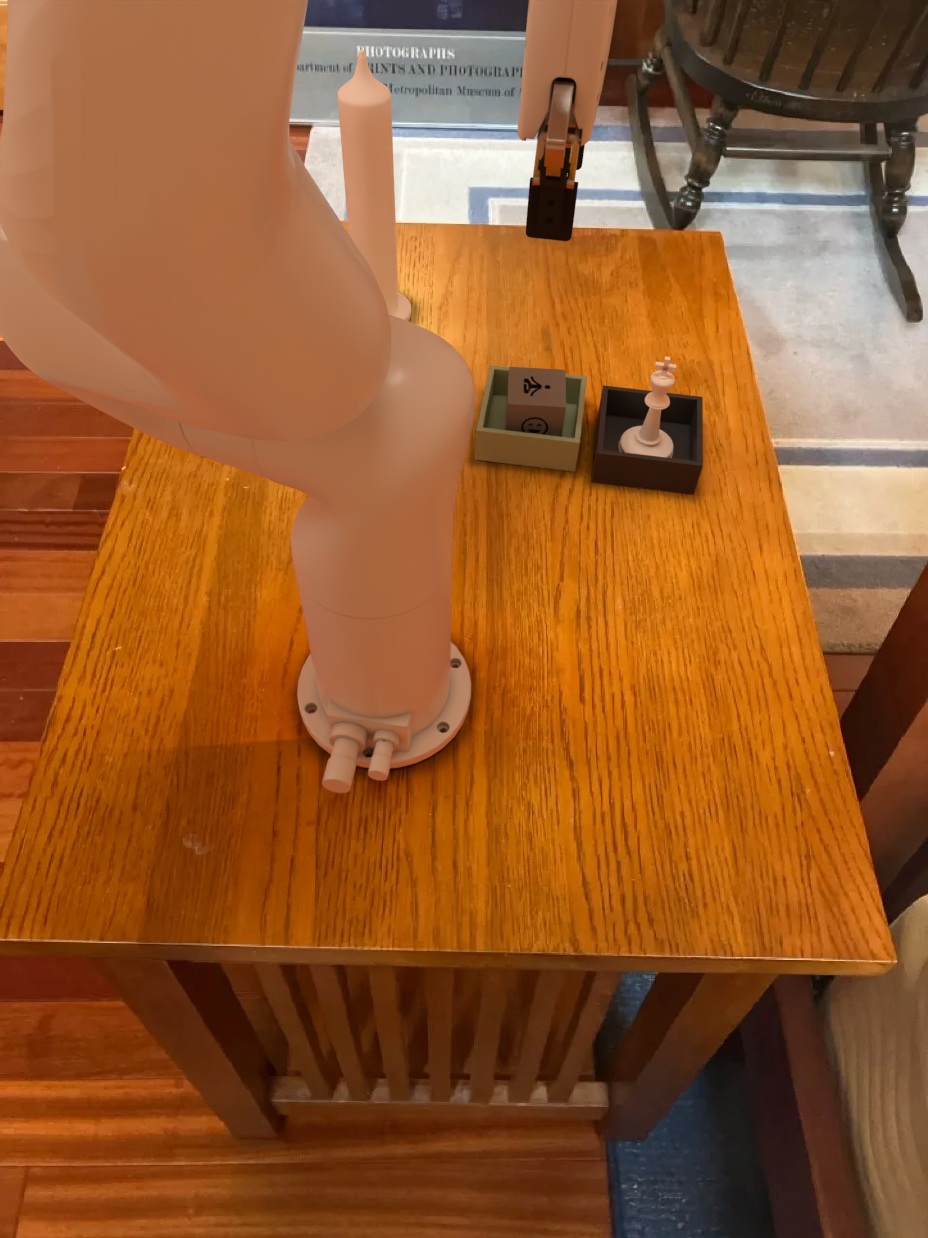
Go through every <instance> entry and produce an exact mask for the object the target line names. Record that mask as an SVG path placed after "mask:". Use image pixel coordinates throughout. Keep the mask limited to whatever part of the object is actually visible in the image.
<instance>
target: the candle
mask: <svg viewBox="0 0 928 1238" xmlns="http://www.w3.org/2000/svg"><path fill="white" fill-rule="evenodd" d="M355 65H356V66H355V70H354V74H353V76H352V77H351V79H349V80H347V82H346V83H344V84H343V85H342V86H341V87H339V89H338V91H337V94H336V95H337V106H338V109H337V110H338V121H339V134H340V145H341V157H342V169H343V181H344V193H345V207H346V216H347V217H346V218H347V228H348V230H347V232H348V234H349V235H350V237H351V238H352V240H353V241H354V243H355V245H356V246H357V248H358V249H359V251H360V252H361V254H362V255H363V257H364V259H365V260H366V262H367V263H368V265H369V267H370V268H371V270H372V272H373V274H374V276H375V278H376V281H377V283H378V285H379V288H380V290H381V293H382V295H383V297H384V300H385V303H386V307H387V311H388V315H392V316H395V317H397V318H400V319H403V320H406V321H409V322H410V319H411V317H412V305H411V302H410V301H409V299H408V298H407V297H406V296H405V295H404V294H402V293H401V292H399V277H398V276H399V275H398V252H397V251H398V248H397V247H398V246H397V223H396V219H397V218H396V197H395V196H396V195H395V169H394V168H395V167H394V166H395V165H394V142H393V139H394V138H393V115H392V94H391V91H390V88H389V87H388V86H387V85H385V84H384V83H382V82H381V81H379V80H378V79H377V78H375V77H374V75H373V73H372V72H371V70H370V66H369V62H368V59H367V55H366V51H365V50H364V49H359V50H358V53H357V60H356V64H355Z"/></svg>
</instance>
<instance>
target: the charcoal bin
mask: <svg viewBox="0 0 928 1238" xmlns="http://www.w3.org/2000/svg"><path fill="white" fill-rule="evenodd" d="M650 392H652V390H647V389H638V388H630V387H622V386H613V385H602V389H601V394H600V399H599V400H600V401H599V405H598V412H597V418H596V430H595V439H594V447H593V448H594V450H593V459H592V460H593V461H592V468H591V469H592V470H591V481H590V482H591V483H596V484H603V485H604V484H605V485H613V486H620V487H629V488H637V489H645V490H653V491H660V492H661V491H662V492H671V493H676V494H686V495H695V493H696V489H697V485H698V483H699V480H700V476H701V473H702V469H703V467H704V434H703V431H704V427H703V426H704V423H703V421H704V418H703V417H704V416H703V415H704V414H703V413H704V412H703V411H704V410H703V408H704V407H703V405H704V404H703V403H704V402H703V401H704V397H703V396H700V395H699V396H698V395H691V394H682V393H674V392H668V393H667V394H666V395H667V396H668V397H669V400H670V404H669V406H668V407H667V408H665V409H662V410H661V415H660V426H659V429H660V430H662V431H664V432H665V433H666V434H667V435H668V436H669V437H670V438H671V440H672V442H673V456H672V458H666V457H658V456H650V455H641V454H633V453H625V452H619V449H618V444H619V441H620V439H621V436H622V435H623V433H624V432H625V431H626V430H628V429H630V428H632V427H635V426H643V423H644V421H645V418H646V416H647V413H648V411H649V408H650V407H649V406H647V405H646V403H645V397H646V396H647V394H648V393H650Z"/></svg>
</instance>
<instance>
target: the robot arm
mask: <svg viewBox="0 0 928 1238" xmlns="http://www.w3.org/2000/svg"><path fill="white" fill-rule="evenodd" d="M6 1H7V3H6V4H7V6H6V8H7V15H6V17H7V18H6V22H7V23H6V53H5V71H4V72H5V73H4V90H3V92H4V93H3V110H2V111H3V112H2V126H1V131H0V132H1V133H0V336H1V338H2V340H3V341H4V342H5V344H6V346H7V347H8V349H10V351H11V352H12V353H13V355H15V357H16V358H17V359H18V361H19V362H21V363H22V365H24V367H26V368H27V369H29V370H30V371H31V372H32V373H33V374H35V375H36V376H38V378H40V379H42V380H43V381H45V382H47V383H48V384H50V385H52V386H53V387H55V388H56V389H59V390H60V391H62V392H64V393H66V394H67V395H70V396H72V397H73V398H75V399H78V400H79V401H81V402H83V403H85V404H86V405H89V406H90V407H92V408H94V409H96V410H98V411H100V412H102V413H104V414H105V415H107V416H109V417H111V418H113V419H115V420H117V421H119V422H121V423H123V424H124V425H127V426H129V427H131V428H133V429H134V430H136V431H139V432H141V433H142V434H145V435H147V436H148V437H151V438H153V439H155V440H156V441H159V442H161V443H164V444H166V445H168V446H171V447H173V448H175V449H178V450H181V451H184V452H187V453H189V454H192V455H194V456H198V457H201V458H203V459H207V460H210V461H214V462H216V463H220V464H223V465H226V466H229V467H232V468H235V469H238V470H241V471H244V472H247V473H250V474H253V475H256V476H259V477H262V478H265V479H268V480H270V482H273V483H276V484H279V485H282V486H285V487H288V488H290V489H293V490H296V491H299V492H301V493H303V494H305V495H307V497H306V499H305V500H304V501H303V502H302V504H301V506H300V507H299V509H298V511H297V513H296V515H295V518H294V521H293V524H292V526H291V527H292V528H291V534H290V554H291V559H292V564H293V565H292V566H293V569H294V574H295V578H296V584H297V588H298V593H299V599H300V604H301V610H302V615H303V619H304V624H305V625H304V626H305V629H306V635H307V640H308V646H309V651H310V653H309V655H308V656H307V658H306V660H305V662H304V664H303V665H302V667H301V671H300V674H299V676H298V680H297V691H296V696H297V703H298V709H299V713H300V716H301V720H302V723H303V724H304V726H305V728H306V730H307V732H308V735H310V737H311V738H312V739H313V741H315V743H316V744H317V745H318V746H319V747H320V748H322V749H323V750H324V751H326V753H328V754H329V755H330V757H329V758H328V759H327V763H326V767H325V770H324V773H323V777H322V781H321V784H322V786H323V788H324V789H325V790H327V791H329V792H332V793H337V794H346V793H349V792H351V788H352V785H353V781H354V777H355V773H356V768H357V767H360V768H365V769H368V770H367V776H368V777H369V778H370V779H372V780H375V781H379V782H380V781H382V782H385V781H386V780H388V779H389V774H390V770H391V769H398V768H402V767H407V766H412V765H414V764H415V765H416V764H417V763H420V762H421V761H424V760H426V759H429V758H431V757H432V756H433V755H435V754H437V753H438V752H440V751H441V750H443V749H444V748H446V746H447V745H448V744H449V743H450V742H452V740H453V739H454V738H455V737H456V736H457V734H458V732H459V731H460V730H461V728H462V727H463V725H464V723H465V721H466V719H467V716H468V714H469V711H470V705H471V699H472V680H471V674H470V669H469V667H468V664H467V662H466V660H465V657H464V656H463V654H462V653H461V651H460V650H459V649H458V647H457V645H456V644H455V643H453V642H452V603H453V602H452V599H453V595H452V594H453V551H454V549H453V548H454V526H455V525H454V522H455V511H456V502H457V496H458V495H457V494H458V490H459V485H460V484H459V483H460V479H461V474H462V471H463V466H464V463H465V462H464V461H465V458H466V455H467V451H468V446H469V442H470V439H471V435H472V431H473V425H474V420H475V419H474V418H475V412H476V397H477V396H476V385H475V380H474V376H473V373H472V371H471V369H470V365H468V363H467V361H466V360H465V358H464V357H463V355H462V354H460V352H459V351H458V350H457V349H456V348H455V347H454V346H453V345H452V344H451V343H450V342H449V341H447V340H446V339H444V338H443V337H441V336H440V335H439V334H436V333H435V332H433V331H431V330H429V329H428V328H426V327H424V326H423V327H422V326H421V325H419V324H416V323H414V322H411V321H410V320H409V321H406V320H403V319H400V318H397V317H395V316H392V315H388V311H387V307H386V303H385V300H384V297H383V295H382V293H381V290H380V288H379V285H378V283H377V281H376V278H375V276H374V274H373V272H372V270H371V268H370V267H369V265H368V263H367V262H366V260H365V259H364V257H363V255H362V254H361V252H360V251H359V249H358V248H357V246H356V245H355V243H354V241H353V240H352V238H351V237H350V235H349V232H348V230H347V229H346V227H345V226H344V224H343V223H342V221H341V220H340V218H339V217H338V214H336V212H335V210H334V209H333V207H332V206H331V205H330V203H329V201H328V199H327V198H326V197H325V195H324V194H323V192H322V191H321V189H320V187H319V186H318V184H317V183H316V181H315V180H314V178H313V177H312V175H311V174H310V172H309V170H308V169H307V167H306V165H305V164H304V162H303V160H302V158H301V157H300V154H299V153H298V151H297V149H296V147H295V145H294V144H293V143H292V141H291V138H290V119H291V113H292V112H291V111H292V105H293V97H294V90H295V82H296V75H297V68H298V62H299V58H300V51H301V45H302V40H303V34H304V27H305V22H306V15H307V8H308V5H309V0H6ZM617 5H618V0H528V7H527V17H526V28H525V37H524V38H525V40H524V51H523V63H522V75H521V87H520V100H519V110H518V119H517V120H518V121H517V129H516V134H517V136H518V137H519V139H520V140H521V141H524V142H526V141H527V139H529V140H535V138H537V140H536V148H535V156H534V164H533V173H532V176H531V177H529V185H528V199H527V209H526V210H527V211H526V221H525V222H526V223H525V235H526V236H527V237H528V238H531V239H541V240H550V241H551V240H552V241H558V242H559V241H560V242H569V241H570V240H571V239H572V236H573V229H574V221H575V213H576V206H577V205H576V203H577V196H578V188H579V181H576V173H577V171H579V170H581V169H582V167H583V161H584V154H585V145H586V144H587V143H589V141H590V140H591V137H592V132H593V128H594V126H595V125H594V124H595V121H596V117H597V113H598V108H599V103H600V100H601V95H602V90H603V86H604V81H605V76H606V71H607V66H608V60H609V54H610V50H611V44H612V39H613V38H612V37H613V32H614V31H613V30H614V27H615V26H614V25H615V19H616V12H617V7H618V6H617Z"/></svg>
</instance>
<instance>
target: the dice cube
mask: <svg viewBox="0 0 928 1238" xmlns="http://www.w3.org/2000/svg"><path fill="white" fill-rule="evenodd" d="M508 367H509V376H508V389H507V402H506V419H505V430H508V431H517V432H525V433H533V434H542V435H550V436H558V437H562V432H563V425H564V418H565V411H566V374H567V372H566V369H560V368H559V369H558V368H542V367H541V368H540V367H521V366H520V367H519V366H508Z"/></svg>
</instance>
